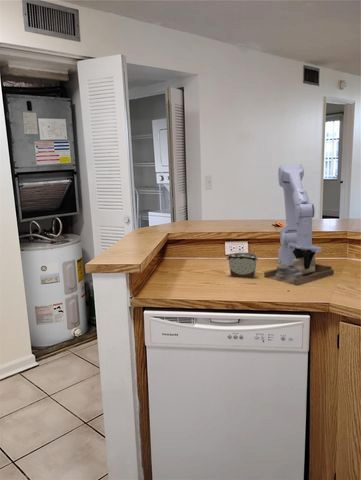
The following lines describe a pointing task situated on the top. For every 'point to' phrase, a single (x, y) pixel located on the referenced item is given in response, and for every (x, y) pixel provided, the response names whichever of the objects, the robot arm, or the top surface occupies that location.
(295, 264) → the grey rectangular block
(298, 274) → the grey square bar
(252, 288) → the top surface
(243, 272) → the food container
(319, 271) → the walnut tray
